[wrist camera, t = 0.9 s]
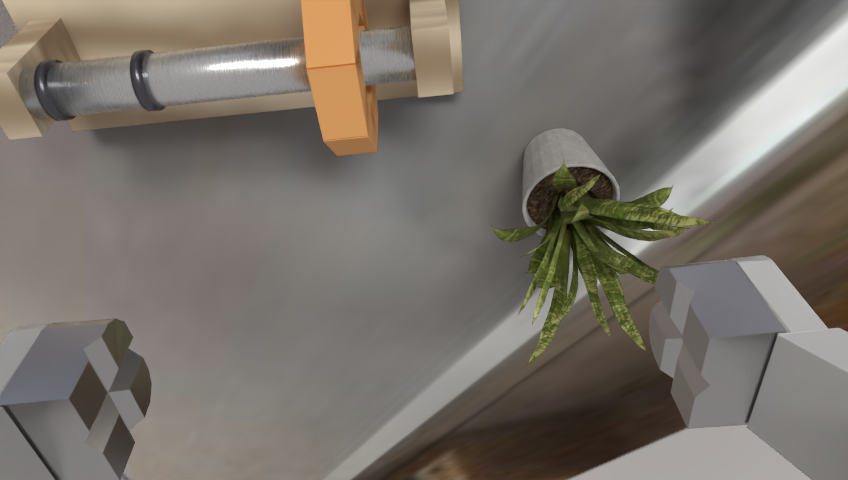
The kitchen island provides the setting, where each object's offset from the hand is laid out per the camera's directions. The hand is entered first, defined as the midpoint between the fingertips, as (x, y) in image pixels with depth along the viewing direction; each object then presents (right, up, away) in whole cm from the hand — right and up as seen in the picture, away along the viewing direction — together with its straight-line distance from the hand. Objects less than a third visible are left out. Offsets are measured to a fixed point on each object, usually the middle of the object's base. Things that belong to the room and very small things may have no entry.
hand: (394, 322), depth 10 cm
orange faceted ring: (-4, +15, +30) cm, 34 cm away
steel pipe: (-11, +12, +28) cm, 32 cm away
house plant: (+11, +7, +42) cm, 44 cm away
